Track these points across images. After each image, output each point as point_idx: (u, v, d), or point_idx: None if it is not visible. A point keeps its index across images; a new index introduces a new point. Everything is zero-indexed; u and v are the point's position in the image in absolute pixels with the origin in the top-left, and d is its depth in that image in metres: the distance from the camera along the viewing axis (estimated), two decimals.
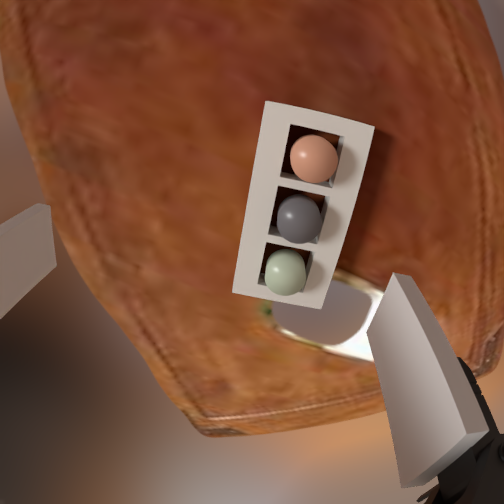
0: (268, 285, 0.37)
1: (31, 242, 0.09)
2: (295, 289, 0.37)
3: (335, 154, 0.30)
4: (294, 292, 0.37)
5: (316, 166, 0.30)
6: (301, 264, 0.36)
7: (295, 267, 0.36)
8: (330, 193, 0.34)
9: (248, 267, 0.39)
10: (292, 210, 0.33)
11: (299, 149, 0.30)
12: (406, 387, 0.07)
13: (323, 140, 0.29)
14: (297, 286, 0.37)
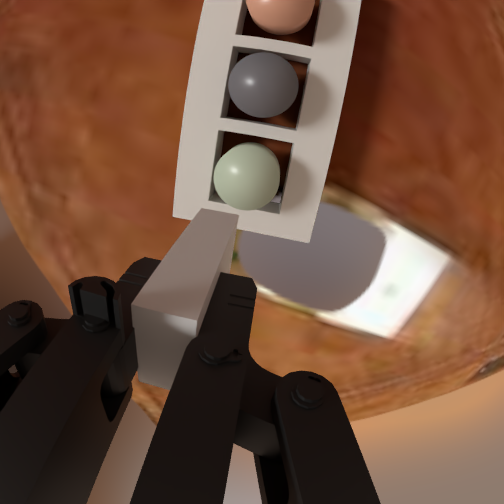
0: (220, 192, 0.23)
1: None
2: (263, 198, 0.23)
3: None
4: (262, 204, 0.23)
5: (284, 4, 0.16)
6: (271, 156, 0.22)
7: (261, 158, 0.21)
8: (311, 53, 0.20)
9: (194, 172, 0.25)
10: (251, 65, 0.19)
11: None
12: None
13: None
14: (267, 193, 0.23)
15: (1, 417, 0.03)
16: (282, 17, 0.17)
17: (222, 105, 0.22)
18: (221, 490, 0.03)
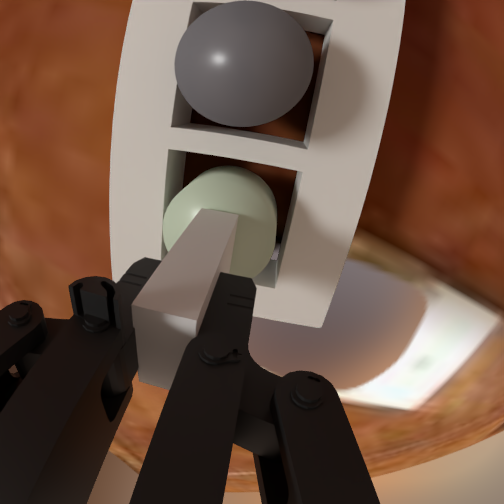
0: None
1: None
2: (248, 268, 0.13)
3: None
4: None
5: None
6: (261, 195, 0.13)
7: (242, 201, 0.12)
8: (332, 12, 0.10)
9: (136, 220, 0.15)
10: (218, 25, 0.09)
11: None
12: None
13: None
14: (253, 261, 0.13)
15: (1, 417, 0.03)
16: None
17: (174, 105, 0.12)
18: (221, 490, 0.03)
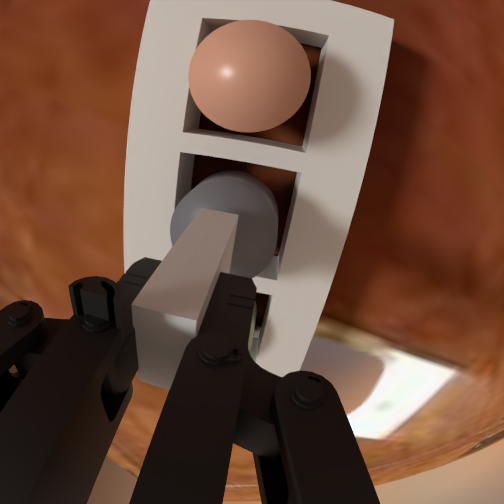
0: None
1: None
2: None
3: (303, 57, 0.10)
4: None
5: (255, 89, 0.11)
6: None
7: None
8: (301, 164, 0.14)
9: None
10: (201, 205, 0.13)
11: (209, 52, 0.10)
12: None
13: (269, 26, 0.10)
14: None
15: (1, 417, 0.03)
16: (251, 115, 0.11)
17: None
18: (220, 490, 0.03)
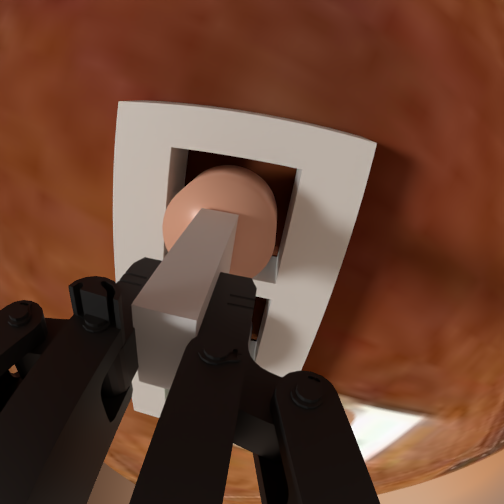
0: None
1: None
2: None
3: (268, 221, 0.12)
4: None
5: None
6: None
7: None
8: (271, 293, 0.16)
9: (147, 388, 0.22)
10: None
11: (179, 212, 0.13)
12: None
13: (235, 187, 0.12)
14: None
15: (1, 417, 0.03)
16: None
17: None
18: (220, 490, 0.03)
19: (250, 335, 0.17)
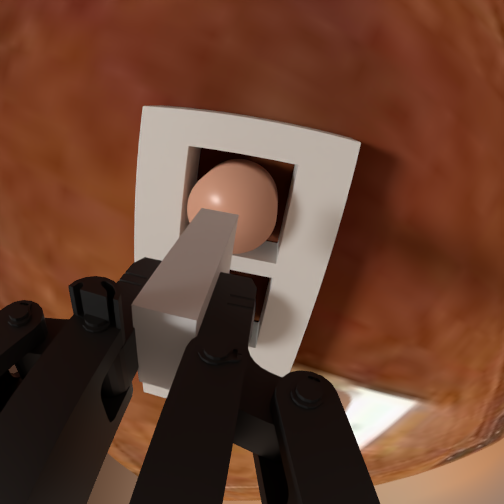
0: None
1: None
2: None
3: (271, 200, 0.16)
4: None
5: None
6: None
7: None
8: (272, 272, 0.19)
9: None
10: None
11: (201, 193, 0.16)
12: None
13: (246, 174, 0.15)
14: None
15: (1, 417, 0.03)
16: (234, 242, 0.17)
17: None
18: (221, 490, 0.03)
19: (254, 311, 0.20)
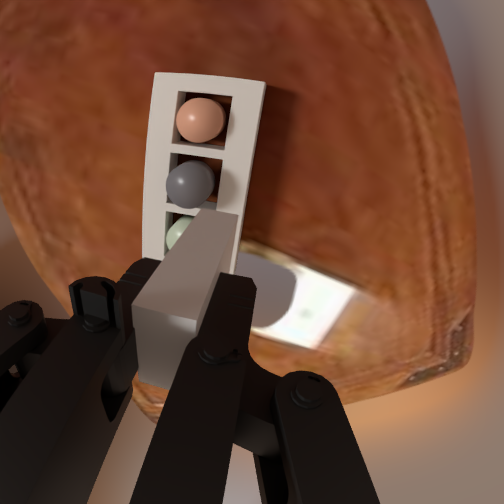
0: None
1: None
2: None
3: (218, 112, 0.29)
4: None
5: (201, 126, 0.30)
6: None
7: None
8: (222, 156, 0.32)
9: (153, 237, 0.37)
10: (178, 174, 0.31)
11: (183, 111, 0.29)
12: None
13: (205, 100, 0.29)
14: None
15: (1, 417, 0.03)
16: (200, 136, 0.31)
17: None
18: (220, 490, 0.03)
19: (213, 180, 0.33)
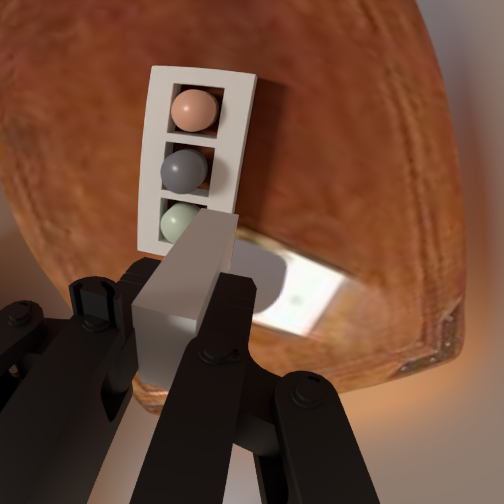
0: (164, 234, 0.38)
1: None
2: None
3: (210, 103, 0.30)
4: None
5: (194, 116, 0.31)
6: (193, 213, 0.37)
7: (186, 215, 0.36)
8: (215, 144, 0.34)
9: (148, 223, 0.39)
10: (172, 161, 0.32)
11: (178, 102, 0.31)
12: None
13: (199, 91, 0.30)
14: None
15: (1, 417, 0.03)
16: (193, 125, 0.32)
17: None
18: (220, 490, 0.03)
19: (205, 167, 0.34)
